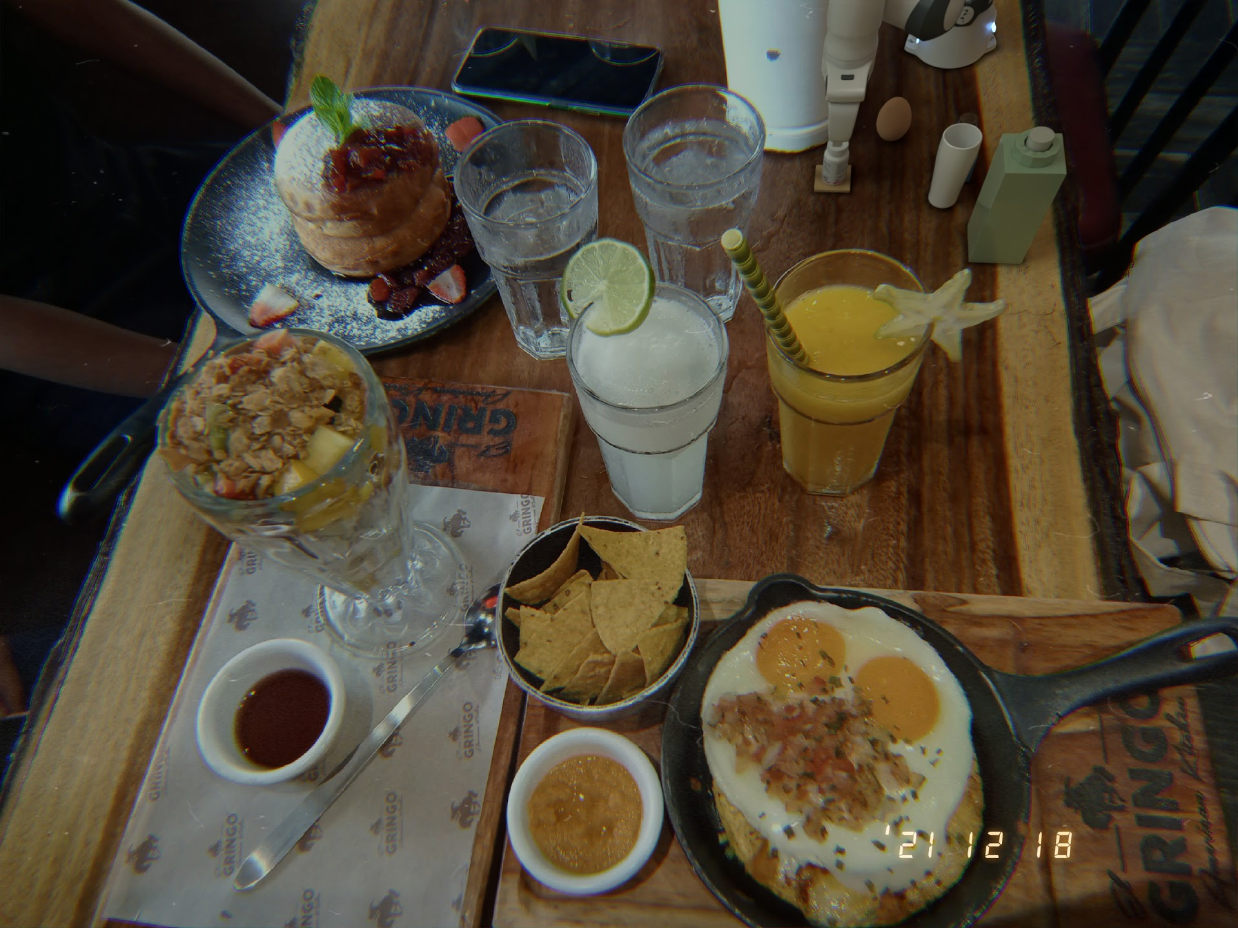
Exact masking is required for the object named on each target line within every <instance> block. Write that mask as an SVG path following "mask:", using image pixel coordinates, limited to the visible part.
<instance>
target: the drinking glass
mask: <svg viewBox="0 0 1238 928" xmlns="http://www.w3.org/2000/svg"><path fill="white" fill-rule="evenodd" d="M957 123H958V122H957ZM957 123H955V124H951V125H949V126H948V127H946V129H945V130H944V131H943V133H942V136H941V139H940V142H939V145H938V148H937V152H936V157H935V161H934V162H935V163H934V168H933V172H932V177H931V183H930V187H929V192H928V195H927V198H928V202H929V204H931V206H933V207H935V208H938V209H947V208H951V207H953V206H954V205H955V204H956V202H957V200H958V197H959V196H960V193H961V191H962V189H963V187H964V184H965V183H966V182H965V180H966V178H967V176H968V174H969V172H970V170H971V168H972V165H973V163H974V161H975V159H976V156H977V154H978V155H979V152H980V148H981V144H982V141H983V133H982V131H981V129H980V128H978V127H975V126H974V125H971V124H966V123H958V124H957Z"/></svg>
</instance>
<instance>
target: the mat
mask: <svg viewBox="0 0 1238 928" xmlns="http://www.w3.org/2000/svg"><path fill="white" fill-rule="evenodd" d="M822 169H823V164H816V165H815V171H814V172H815V174H814V185H813V193H851V179H852V178H851V177H852V175H851V174H852V164H848V166H847V172H846V177H845V180H844V181H843V182H842V183H840V184H838V185H828V184H826V183H824V182H823V180H822Z"/></svg>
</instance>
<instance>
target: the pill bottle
mask: <svg viewBox="0 0 1238 928" xmlns="http://www.w3.org/2000/svg"><path fill="white" fill-rule="evenodd" d="M832 143H833V142H831V141H829V140H828V141H827V145H826V149H825V150H824V153H823V159H822V160H823V162H822V165H823V169H822V180H823V182H824V183H826V184H828V185H838V184H840V183H842V182H843V181H844V180H845V177H846V172H847V166H848V165H849V158H850V150H849V145H850V141H847V142H843V144H842V146H841V147H833V146H832Z"/></svg>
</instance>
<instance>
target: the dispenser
mask: <svg viewBox="0 0 1238 928" xmlns="http://www.w3.org/2000/svg"><path fill="white" fill-rule="evenodd" d="M1032 129H1033V128H1029V129H1027V130H1024V131H1022V132H1020V133H1002V134H1001V137H1000V139H999V142H998V144H997V147H996V149H995V153H994V155H993V158H992V160H991V163H990V166H989V167H988V171H987V174H986V176H985V179H984V181H983V184H982V187H981V189H980V192H979V194H978V197H977V199H976V201H975V204H974V207H973V210H972V213H971V215H970V218H969V220H968V223H967V225H966V226H967V253H968V254H967V257H968V263H980V264H981V263H984V264H985V263H986V264H1013V265H1014V264H1015V265H1016V264H1017V265H1022V263H1023V261H1024V259H1025V257H1026V255H1027V253H1028V251H1029V249H1030V247H1031V245H1032V243H1033V241H1034V239H1035V237H1036V235H1037V233H1038V232H1039V229H1040V228H1041V225H1042V223H1043V221H1044V219H1045V218H1046V216H1047V213H1048V212H1049V209H1050V207H1051V206H1052V204H1053V202H1054V200H1055V198H1056V196H1057V194H1058V192H1059V190H1060V187H1061V185H1062V184H1063V182H1064V180H1065V178H1066V176H1067V174H1068V173H1067V164H1066V154H1065V147H1064V136H1063V133H1055V132H1054V134H1055V137H1054V139H1053V141H1052V143H1051V145H1050V148H1049V149H1048V150H1047V151H1045V152H1034V151H1031V150H1029V149H1028V148H1027V147H1026V145H1025V143H1026V141H1027V138H1028V136H1029V134H1030V131H1031V130H1032Z"/></svg>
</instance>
